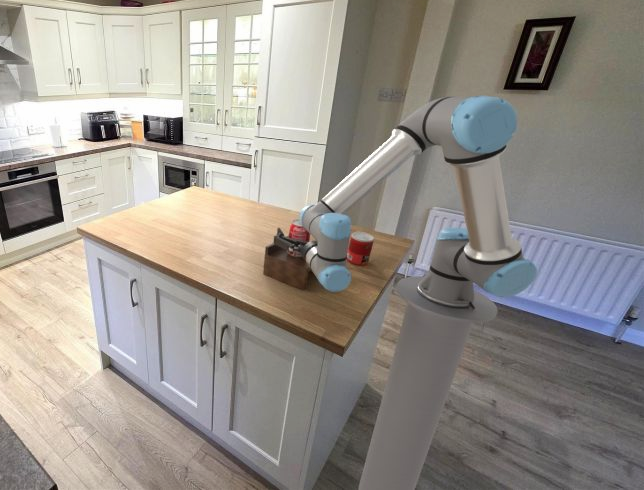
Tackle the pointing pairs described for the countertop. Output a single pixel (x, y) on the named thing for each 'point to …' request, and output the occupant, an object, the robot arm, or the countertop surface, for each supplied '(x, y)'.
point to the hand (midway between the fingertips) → (297, 231)
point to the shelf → (285, 266)
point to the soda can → (298, 235)
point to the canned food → (360, 248)
